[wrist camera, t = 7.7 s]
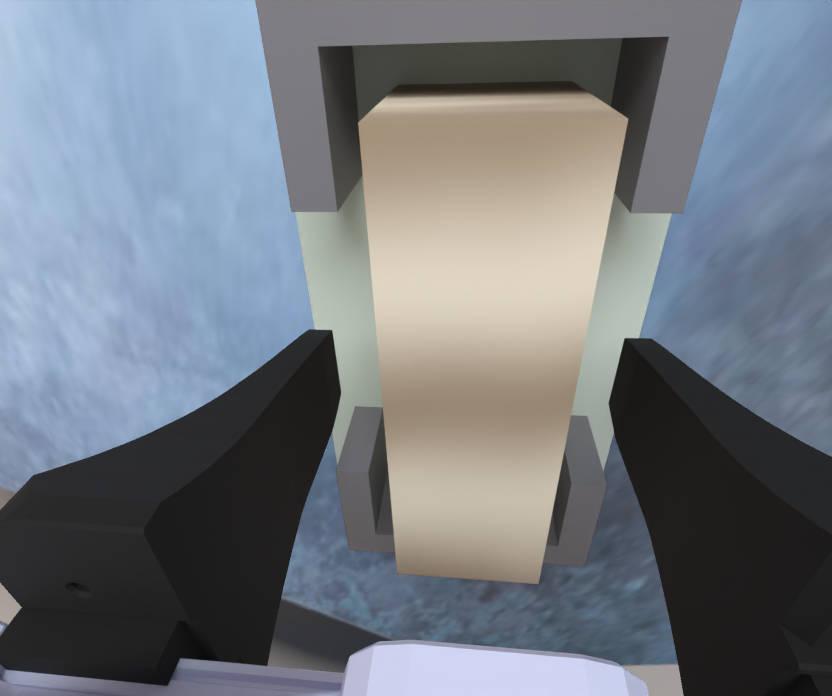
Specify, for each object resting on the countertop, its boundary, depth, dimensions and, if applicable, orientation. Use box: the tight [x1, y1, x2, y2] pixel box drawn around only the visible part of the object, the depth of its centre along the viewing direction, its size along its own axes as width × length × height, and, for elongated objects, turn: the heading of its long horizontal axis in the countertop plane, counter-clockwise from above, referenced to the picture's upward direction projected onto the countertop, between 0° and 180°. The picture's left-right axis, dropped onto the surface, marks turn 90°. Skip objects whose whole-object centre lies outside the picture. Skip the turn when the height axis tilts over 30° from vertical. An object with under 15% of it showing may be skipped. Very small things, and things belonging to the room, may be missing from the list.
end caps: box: [255, 0, 742, 566], centre depth 14 cm, size 18×10×4 cm, turn 2°
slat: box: [358, 81, 628, 584], centre depth 13 cm, size 12×4×5 cm, turn 2°
